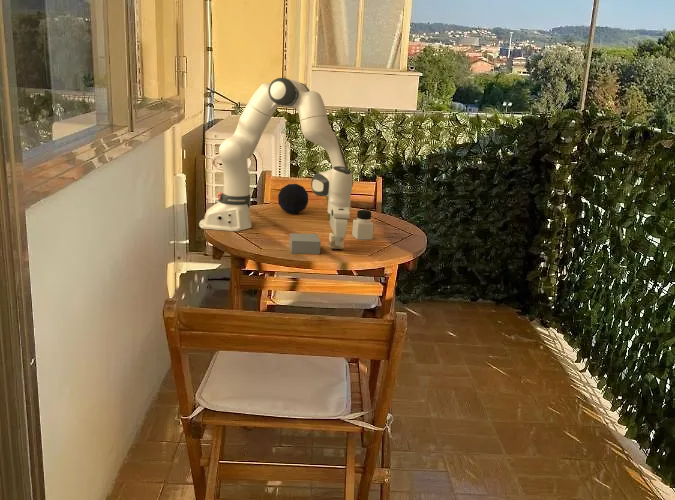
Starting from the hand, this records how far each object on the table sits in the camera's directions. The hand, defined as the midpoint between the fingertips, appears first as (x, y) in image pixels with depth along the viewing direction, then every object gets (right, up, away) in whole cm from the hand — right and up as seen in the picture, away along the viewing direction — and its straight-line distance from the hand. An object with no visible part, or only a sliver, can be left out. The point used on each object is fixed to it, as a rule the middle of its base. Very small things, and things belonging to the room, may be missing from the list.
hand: (336, 242), depth 252 cm
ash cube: (0, -2, 0) cm, 2 cm away
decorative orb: (-21, +15, +56) cm, 61 cm away
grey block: (-12, -3, -3) cm, 13 cm away
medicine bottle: (+11, +2, +21) cm, 24 cm away
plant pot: (0, +11, +48) cm, 50 cm away
